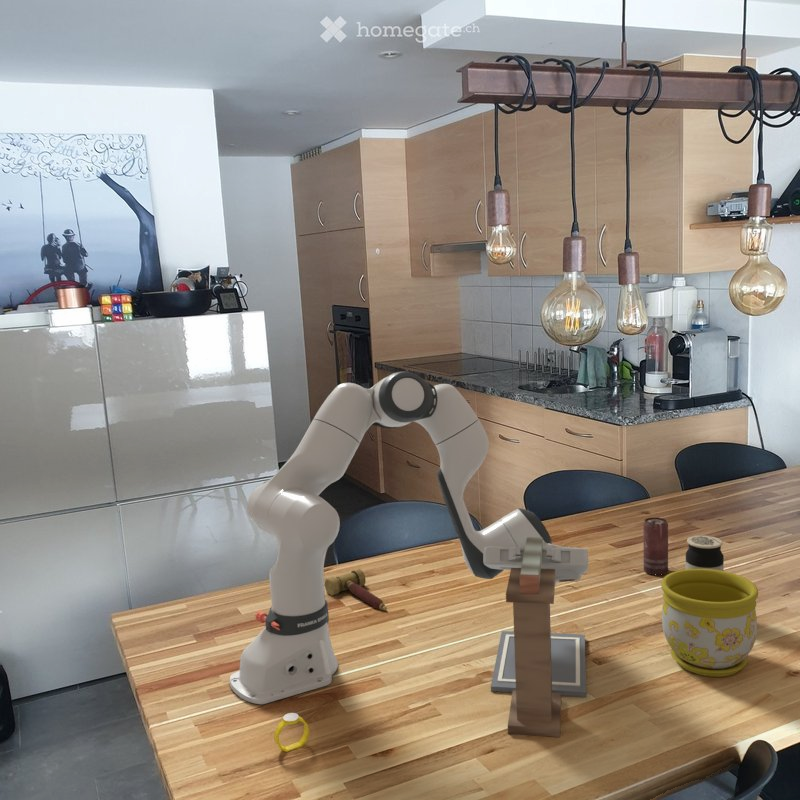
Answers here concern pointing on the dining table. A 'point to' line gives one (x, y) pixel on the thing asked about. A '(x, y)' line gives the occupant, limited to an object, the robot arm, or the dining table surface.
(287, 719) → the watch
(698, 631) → the flowerpot
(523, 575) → the grey green bar
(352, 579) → the gavel
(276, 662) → the robot arm
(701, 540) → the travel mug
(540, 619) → the stand
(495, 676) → the mat
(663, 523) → the can
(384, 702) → the dining table surface
